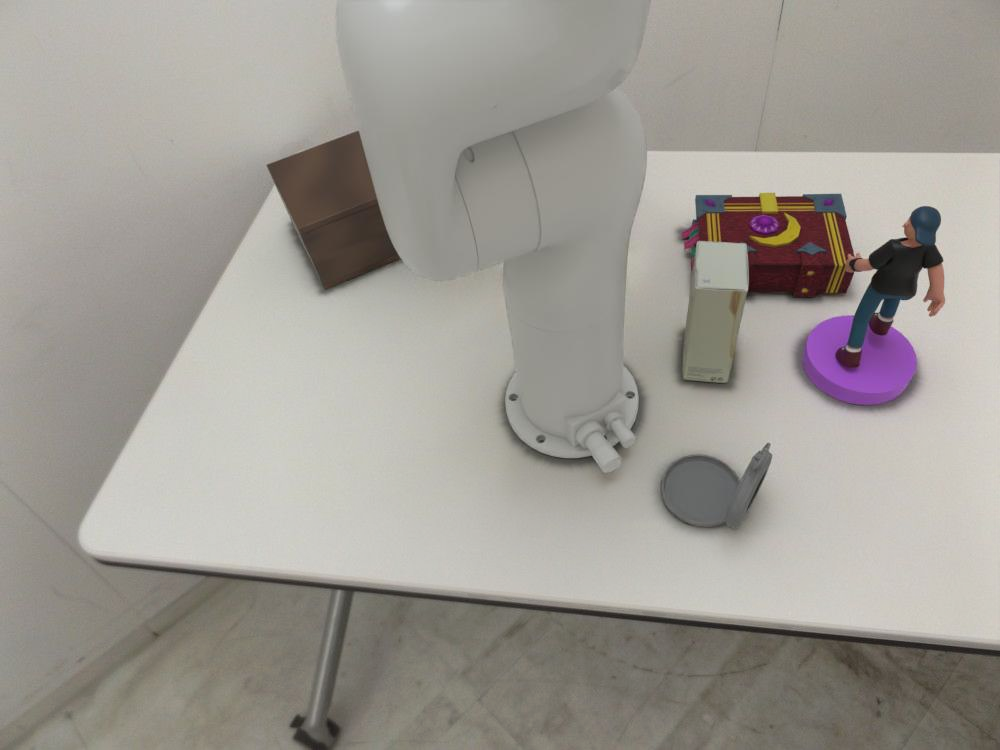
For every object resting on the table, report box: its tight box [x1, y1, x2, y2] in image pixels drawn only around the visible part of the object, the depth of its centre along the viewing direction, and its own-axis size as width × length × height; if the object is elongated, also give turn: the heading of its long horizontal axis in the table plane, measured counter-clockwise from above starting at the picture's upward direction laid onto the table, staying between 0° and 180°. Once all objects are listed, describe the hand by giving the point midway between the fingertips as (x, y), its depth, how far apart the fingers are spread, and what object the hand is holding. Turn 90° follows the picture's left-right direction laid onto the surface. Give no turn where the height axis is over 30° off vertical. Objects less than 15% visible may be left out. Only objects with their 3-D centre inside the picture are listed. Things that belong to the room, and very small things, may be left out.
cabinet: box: [266, 130, 401, 291], centre depth 82 cm, size 15×14×9 cm
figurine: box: [801, 205, 946, 406], centre depth 58 cm, size 9×9×18 cm
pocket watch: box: [660, 442, 773, 529], centre depth 54 cm, size 8×8×10 cm
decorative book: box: [681, 192, 856, 298], centre depth 73 cm, size 11×16×5 cm
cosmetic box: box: [682, 241, 749, 384], centre depth 63 cm, size 6×4×12 cm
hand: (432, 131), depth 80 cm, fingers closed on chocolate bar, 3 cm apart
